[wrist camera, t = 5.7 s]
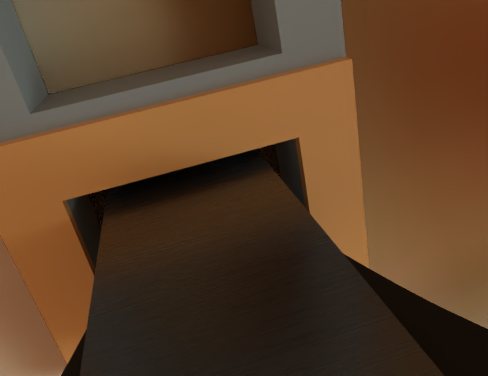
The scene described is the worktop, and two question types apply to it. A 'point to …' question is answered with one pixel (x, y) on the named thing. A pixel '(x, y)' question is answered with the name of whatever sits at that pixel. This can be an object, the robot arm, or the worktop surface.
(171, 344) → the block
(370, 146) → the worktop surface
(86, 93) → the grey rectangular frame
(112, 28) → the worktop surface
